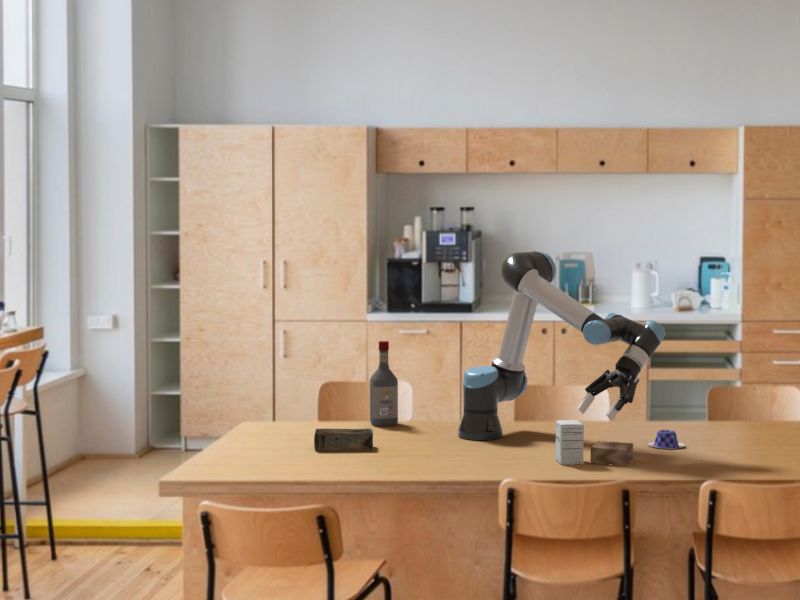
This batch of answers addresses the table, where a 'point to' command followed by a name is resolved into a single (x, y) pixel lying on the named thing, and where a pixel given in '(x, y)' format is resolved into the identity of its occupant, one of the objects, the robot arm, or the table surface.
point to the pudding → (666, 440)
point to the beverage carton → (343, 440)
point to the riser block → (611, 453)
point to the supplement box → (569, 442)
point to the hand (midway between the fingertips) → (594, 414)
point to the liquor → (383, 392)
